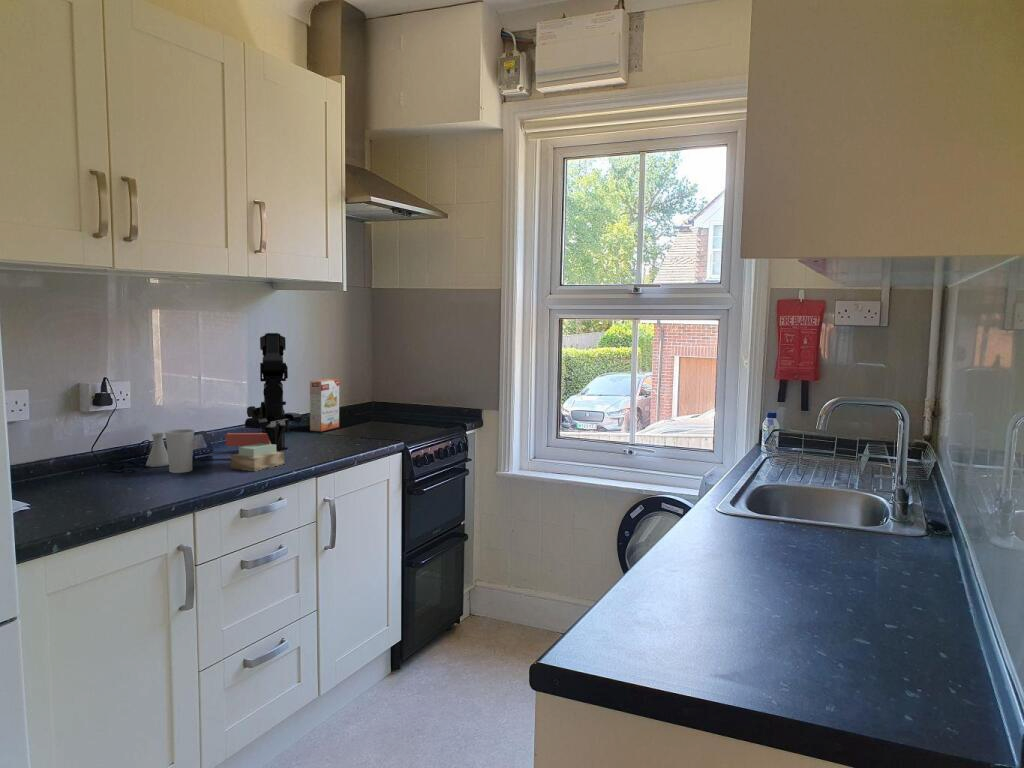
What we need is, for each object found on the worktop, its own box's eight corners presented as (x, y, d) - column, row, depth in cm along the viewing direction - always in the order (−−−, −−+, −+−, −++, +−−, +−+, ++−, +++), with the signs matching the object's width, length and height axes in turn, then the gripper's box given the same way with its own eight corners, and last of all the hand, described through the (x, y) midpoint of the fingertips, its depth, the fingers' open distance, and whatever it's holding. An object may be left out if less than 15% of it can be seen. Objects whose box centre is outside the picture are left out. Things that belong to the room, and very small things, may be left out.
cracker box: (322, 432, 290) (321, 381, 288) (309, 431, 291) (308, 380, 290) (340, 427, 303) (339, 379, 301) (328, 426, 305) (327, 378, 303)
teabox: (261, 461, 227) (261, 449, 227) (284, 464, 223) (284, 452, 222) (230, 468, 217) (230, 455, 216) (254, 471, 212) (254, 458, 212)
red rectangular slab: (226, 455, 231) (225, 434, 231) (228, 454, 233) (227, 433, 233) (269, 455, 232) (269, 434, 232) (271, 454, 234) (270, 433, 234)
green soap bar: (261, 450, 225) (261, 442, 225) (276, 452, 222) (276, 444, 222) (238, 455, 217) (238, 447, 217) (253, 457, 214) (253, 449, 214)
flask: (176, 463, 224) (175, 432, 223) (163, 467, 217) (162, 435, 216) (154, 462, 224) (153, 431, 224) (140, 467, 217) (139, 435, 216)
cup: (199, 470, 213) (198, 431, 212) (172, 474, 207) (170, 434, 206) (189, 466, 218) (188, 428, 217) (162, 470, 213) (160, 431, 212)
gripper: (277, 394, 236) (278, 440, 237) (231, 399, 219) (233, 449, 221) (302, 396, 231) (302, 443, 232) (257, 401, 214) (258, 452, 216)
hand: (274, 447), depth 225 cm, fingers closed
